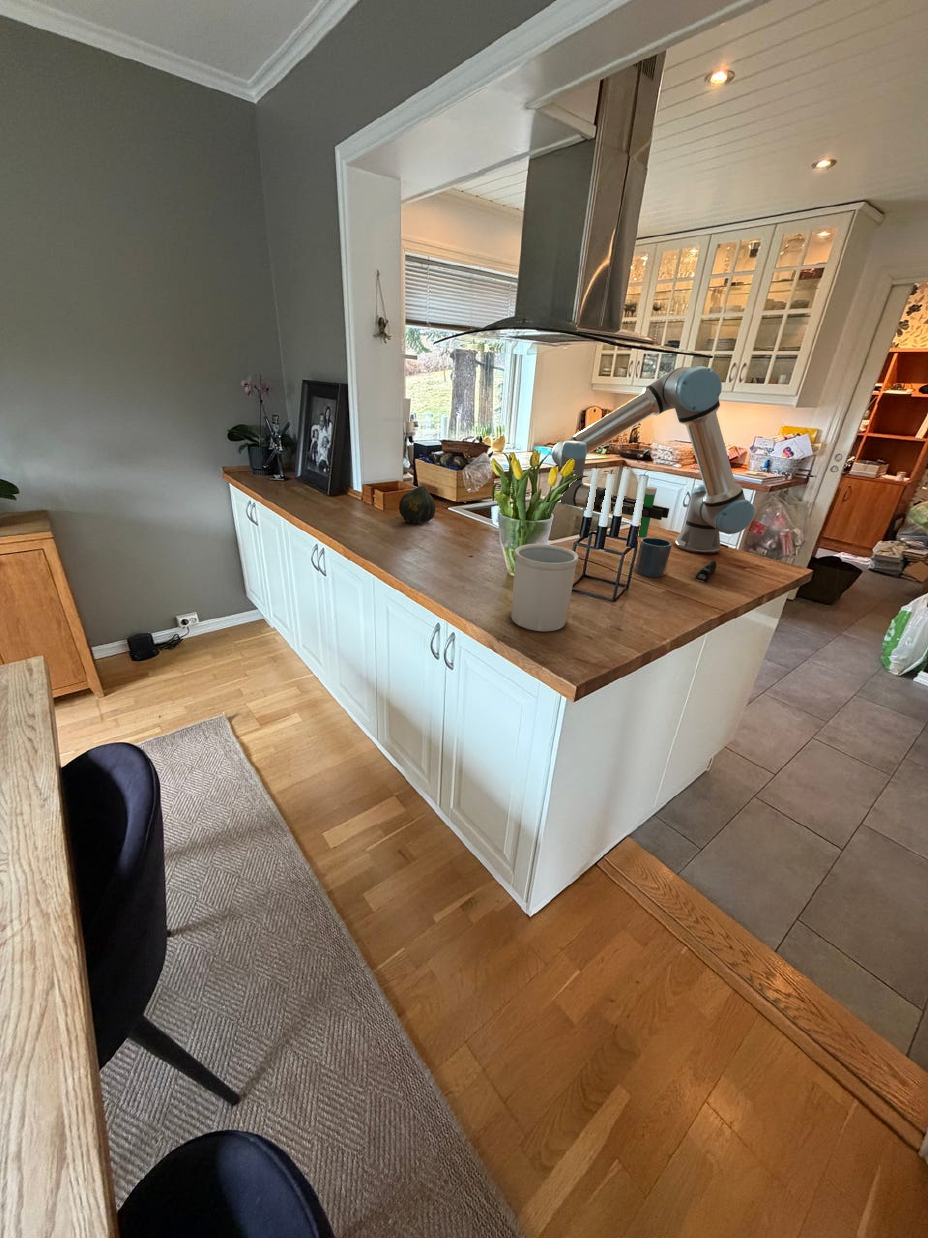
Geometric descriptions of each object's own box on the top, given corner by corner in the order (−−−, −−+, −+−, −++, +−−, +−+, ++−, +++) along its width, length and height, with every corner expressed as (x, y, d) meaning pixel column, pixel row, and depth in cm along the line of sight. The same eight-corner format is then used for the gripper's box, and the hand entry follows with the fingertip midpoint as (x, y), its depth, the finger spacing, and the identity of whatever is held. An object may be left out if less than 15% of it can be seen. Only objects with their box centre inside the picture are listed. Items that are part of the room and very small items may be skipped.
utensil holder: (526, 601, 131) (532, 539, 123) (578, 617, 123) (588, 551, 115) (498, 621, 120) (503, 553, 112) (553, 639, 112) (562, 568, 104)
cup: (663, 569, 158) (670, 539, 153) (665, 578, 150) (672, 547, 146) (635, 565, 160) (641, 536, 156) (634, 574, 152) (641, 544, 148)
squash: (386, 509, 193) (410, 482, 186) (402, 503, 206) (424, 478, 199) (411, 535, 194) (435, 510, 187) (425, 527, 207) (448, 504, 200)
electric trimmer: (718, 570, 160) (720, 561, 158) (706, 582, 148) (709, 573, 147) (706, 567, 162) (708, 558, 160) (694, 579, 150) (696, 570, 149)
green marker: (646, 535, 143) (656, 487, 137) (646, 538, 140) (657, 489, 134) (636, 534, 144) (645, 486, 137) (636, 537, 141) (645, 488, 135)
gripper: (606, 506, 157) (675, 523, 141) (576, 513, 147) (647, 532, 132) (610, 483, 154) (681, 497, 138) (580, 489, 144) (653, 504, 128)
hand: (664, 514), depth 135 cm, fingers closed on green marker, 3 cm apart
